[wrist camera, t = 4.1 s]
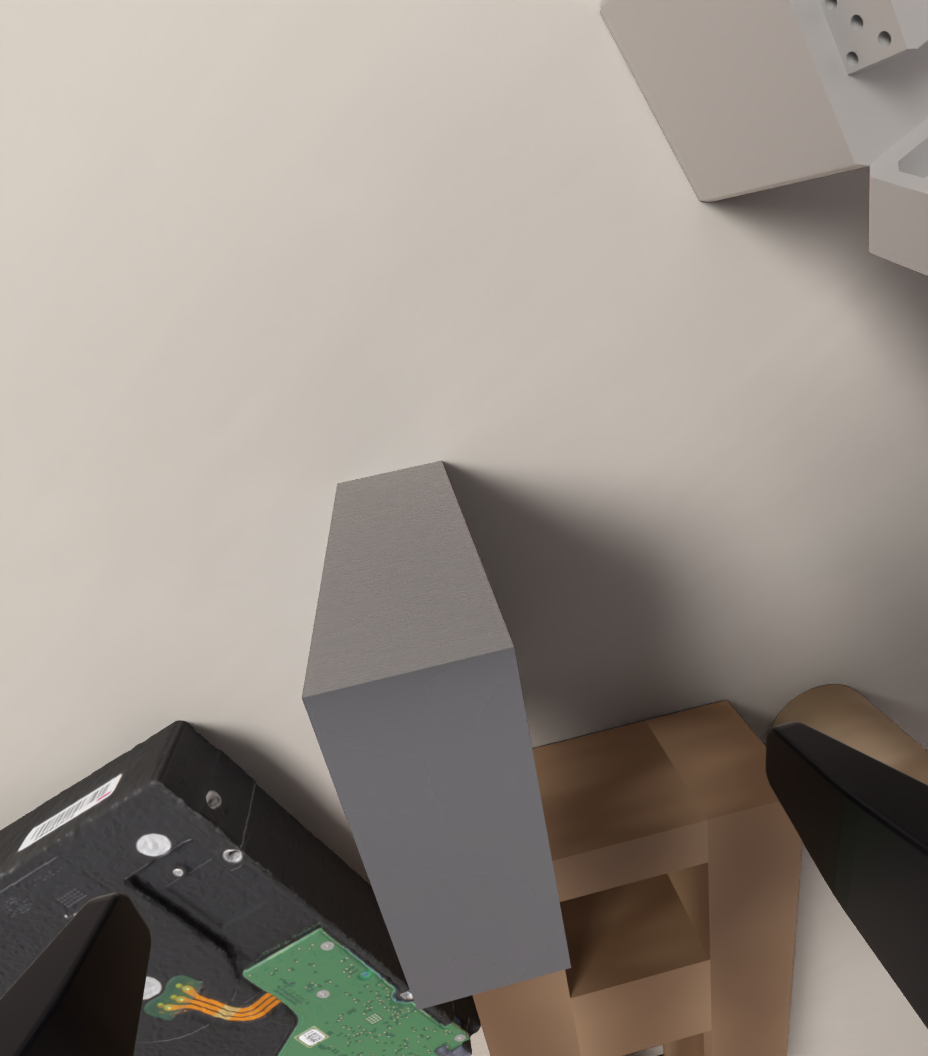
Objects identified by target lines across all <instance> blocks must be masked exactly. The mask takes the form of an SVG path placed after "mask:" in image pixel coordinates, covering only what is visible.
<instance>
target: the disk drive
mask: <svg viewBox="0 0 928 1056" xmlns="http://www.w3.org/2000/svg"><path fill="white" fill-rule="evenodd" d="M118 891H123V892H125V893H127V894H128V895H129V896H130V898H131V899H132V901H133V902H134V904H135V905H136V907H137V909H138V910H139V912H140V913H141V915H142V917H143V918H144V920H145V921H146V923H147V925H148V927H149V929H150V933H151V952H150V958H149V964H148V970H147V977H146V983H145V989H144V995H143V1002H142V1008H141V1014H140V1020H139V1027H138V1033H137V1039H136V1045H135V1052H134V1056H471V1055H472V1049H471V1041H470V1036H471V1035H472V1034H474V1033H476V1032H477V1031H478V1030H479V1028H480V1027H481V1022H480V1019H479V1015H478V1012H477V1009H476V1005H475V1002H474V999H473V995H471V996H467V997H464V998H460V999H456V1000H453V1001H449V1002H446V1003H442V1004H438V1005H435V1006H431V1007H427V1008H424V1009H420V1010H417V1008H416V1005H415V1002H414V999H413V997H412V994H411V991H410V989H409V986H408V983H407V981H406V978H405V975H404V972H403V970H402V967H401V964H400V962H399V959H398V956H397V954H396V951H395V948H394V945H393V943H392V940H391V937H390V935H389V932H388V929H387V926H386V924H385V921H384V918H383V916H382V913H381V910H380V908H379V905H378V902H377V899H376V897H375V894H374V891H373V889H372V887H371V886H370V885H369V884H368V883H367V882H366V881H365V880H364V879H363V878H362V877H360V876H359V875H358V874H357V873H356V872H355V871H354V870H352V869H351V868H350V867H349V866H348V865H347V864H346V863H345V862H343V860H341V859H340V858H339V857H338V856H337V855H336V854H335V853H333V852H332V851H331V850H330V849H329V848H328V847H327V846H325V845H324V844H323V843H322V842H321V841H320V840H318V839H317V838H316V837H315V836H313V835H312V833H311V832H309V831H308V830H307V829H306V828H305V827H304V826H303V825H301V824H300V823H299V822H298V821H297V820H296V819H295V818H294V817H292V816H291V815H290V814H289V813H288V812H287V811H286V810H285V809H283V808H282V807H281V806H280V805H279V804H278V803H277V802H276V801H275V800H274V799H273V798H271V797H270V796H269V795H268V794H267V793H266V792H264V791H263V790H262V789H261V788H260V787H259V786H258V785H256V783H255V781H254V780H253V778H251V777H250V776H249V775H247V774H246V773H245V771H244V770H243V769H242V768H240V767H239V766H238V765H237V764H236V763H235V762H233V761H232V760H231V759H230V758H229V757H228V756H227V755H226V754H224V753H223V752H222V751H221V750H218V749H216V748H215V747H214V746H213V745H211V744H210V743H209V741H208V740H206V739H205V738H204V737H203V736H201V734H198V733H197V732H196V731H195V730H194V729H193V727H192V726H190V725H189V724H188V723H187V722H185V721H175V722H174V723H172V724H171V725H169V726H167V727H166V728H164V729H163V730H161V731H160V732H158V733H157V734H155V735H153V736H151V737H150V738H149V739H148V740H146V741H145V742H143V743H140V744H138V745H136V746H135V747H134V748H133V749H132V750H130V751H128V752H126V753H124V754H123V755H121V756H119V757H118V758H116V759H115V760H113V761H111V762H109V763H108V764H106V765H105V766H103V767H102V768H100V769H98V770H97V771H95V772H94V773H92V774H91V775H90V776H88V777H86V778H84V779H83V780H81V781H80V782H78V783H76V784H74V785H73V786H72V787H70V788H68V789H66V790H64V791H62V792H61V793H60V794H58V795H57V796H55V797H53V798H52V799H50V800H48V801H46V802H45V803H44V804H42V805H41V806H39V807H37V808H36V809H35V810H33V811H31V812H30V813H28V814H26V815H25V816H23V817H22V818H20V819H18V820H17V821H15V822H14V823H12V824H10V825H9V826H7V827H5V828H4V829H2V830H1V831H0V998H1V997H2V996H3V995H4V994H5V993H6V991H7V990H8V989H9V988H10V987H11V986H12V985H13V984H14V983H15V981H16V980H17V979H18V978H19V977H20V976H21V975H22V974H23V973H24V971H25V970H26V969H27V968H28V967H29V966H30V965H31V964H32V962H33V961H34V960H35V959H36V958H37V957H38V956H39V955H40V954H41V952H42V951H43V950H44V949H45V948H46V947H47V946H48V945H49V944H50V942H51V941H52V940H53V939H54V938H55V937H56V936H57V935H58V934H59V932H60V931H61V930H62V929H63V928H64V927H65V926H66V925H67V923H68V922H69V921H70V920H71V919H72V918H73V917H74V916H75V915H76V913H77V912H78V911H79V910H80V909H81V908H82V907H83V906H84V905H85V904H86V903H87V902H88V901H89V900H91V899H93V898H95V897H98V896H102V895H106V894H110V893H114V892H118Z"/></svg>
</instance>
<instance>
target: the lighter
mask: <svg viewBox="0 0 928 1056" xmlns="http://www.w3.org/2000/svg"><path fill="white" fill-rule="evenodd" d="M600 13H601V15H602V17H603V19H604V21H605V23H606V24H607V26H608V28H609V30H610V32H611V34H612V36H613V38H614V40H615V42H616V43H617V45H618V47H619V49H620V51H621V53H622V55H623V57H624V59H625V60H626V62H627V64H628V66H629V68H630V70H631V72H632V74H633V76H634V78H635V79H636V81H637V83H638V85H639V87H640V89H641V91H642V93H643V95H644V97H645V98H646V100H647V102H648V104H649V106H650V108H651V110H652V112H653V114H654V116H655V117H656V119H657V121H658V123H659V125H660V127H661V129H662V131H663V133H664V135H665V136H666V138H667V140H668V142H669V144H670V146H671V148H672V150H673V152H674V153H675V155H676V157H677V159H678V161H679V163H680V165H681V167H682V169H683V171H684V172H685V174H686V176H687V178H688V180H689V182H690V184H691V186H692V188H693V190H694V191H695V193H696V195H697V197H698V199H699V201H705V202H714V201H718V200H722V199H727V198H731V197H736V196H740V195H744V194H749V193H753V192H758V191H762V190H767V189H771V188H775V187H780V186H784V185H789V184H793V183H797V182H802V181H806V180H811V179H815V178H820V177H824V176H828V175H833V174H837V173H842V172H846V171H850V170H855V169H859V168H864V167H868V166H870V185H869V253H871V254H874V255H876V256H879V257H881V258H884V259H886V260H889V261H891V262H894V263H896V264H899V265H901V266H904V267H906V268H909V269H911V270H914V271H916V272H919V273H921V274H924V275H926V276H928V0H602V4H601V10H600Z"/></svg>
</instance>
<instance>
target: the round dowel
mask: <svg viewBox="0 0 928 1056" xmlns="http://www.w3.org/2000/svg"><path fill="white" fill-rule="evenodd" d="M792 721H797V722H801V723H804V724H806V725H808V726H810V727H812V728H814V729H816V730H818V731H820V732H822V733H824V734H826V735H828V736H830V737H832V738H834V739H836V740H838V741H840V742H842V743H844V744H846V745H848V746H850V747H852V748H854V749H856V750H858V751H860V752H862V753H864V754H866V755H868V756H870V757H872V758H874V759H876V760H878V761H880V762H883V763H885V764H887V765H889V766H891V767H893V768H895V769H897V770H899V771H901V772H903V773H905V774H907V775H909V776H911V777H913V778H915V779H917V780H919V781H921V782H923V783H925V784H927V785H928V751H927V750H926V749H924V748H923V747H922V746H921V745H920V744H919V743H917V742H916V741H915V740H914V739H913V738H911V737H910V736H909V735H908V734H907V733H906V732H904V731H903V730H902V729H901V728H900V727H899V726H897V725H896V724H895V723H894V722H893V721H891V720H890V719H889V718H888V717H887V716H886V715H884V714H883V713H882V712H881V711H880V710H879V709H877V708H876V707H875V706H874V705H873V704H871V703H870V702H869V701H868V700H867V699H866V698H864V697H863V696H862V695H861V694H860V693H858V692H857V691H856V690H855V689H853V688H851V687H849V686H845V685H840V684H830V685H823V686H819V687H816V688H813V689H810V690H808V691H806V692H804V693H802V694H801V695H799V696H797V697H796V698H795V699H793V700H792V701H791V702H789V703H788V704H787V705H786V706H785V707H784V708H783V709H782V711H781V712H780V713H779V714H778V716H777V717H776V719H775V721H774V722H773V725H772V726H776V725H780V724H784V723H788V722H792Z"/></svg>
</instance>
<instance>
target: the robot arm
mask: <svg viewBox="0 0 928 1056" xmlns="http://www.w3.org/2000/svg"><path fill="white" fill-rule="evenodd" d="M765 769H766V775H767V779H768V781H769V784H770V786H771V788H772V790H773V791H774V793H775V795H776V797H777V798H778V800H779V802H780V803H781V805H782V807H783V809H784V810H785V812H786V814H787V816H788V817H789V819H790V821H791V823H792V824H793V826H794V828H795V829H796V831H797V833H798V835H799V836H800V838H801V840H802V842H803V843H804V845H805V847H806V849H807V850H808V852H809V854H810V855H811V857H812V859H813V861H814V862H815V864H816V866H817V868H818V869H819V871H820V873H821V875H822V876H823V878H824V880H825V881H826V883H827V885H828V886H829V888H830V889H831V891H832V893H833V894H834V896H835V897H836V899H837V900H838V902H839V903H840V905H841V906H842V908H843V909H844V911H845V912H846V914H847V915H848V917H849V918H850V919H851V921H852V922H853V924H854V925H855V926H856V928H857V929H858V931H859V932H860V934H861V935H862V936H863V938H864V939H865V941H866V942H867V943H868V945H869V946H870V948H871V949H872V951H873V952H874V953H875V955H876V956H877V958H878V959H879V960H880V962H881V963H882V965H883V966H884V968H885V969H886V970H887V972H888V973H889V975H890V976H891V978H892V979H893V980H894V982H895V983H896V985H897V986H898V987H899V989H900V990H901V992H902V993H903V995H904V996H905V997H906V999H907V1000H908V1002H909V1003H910V1004H911V1006H912V1007H913V1009H914V1010H915V1012H916V1013H917V1014H918V1016H919V1017H920V1019H921V1020H922V1021H923V1023H924V1024H925V1026H926V1027H927V1029H928V785H927V784H925V783H923V782H921V781H919V780H917V779H915V778H913V777H911V776H909V775H907V774H905V773H903V772H901V771H899V770H897V769H895V768H893V767H891V766H889V765H887V764H885V763H883V762H880V761H878V760H876V759H874V758H872V757H870V756H868V755H866V754H864V753H862V752H860V751H858V750H856V749H854V748H852V747H850V746H848V745H846V744H844V743H842V742H840V741H838V740H836V739H834V738H832V737H830V736H828V735H826V734H824V733H822V732H820V731H818V730H816V729H814V728H812V727H810V726H808V725H806V724H804V723H801V722H797V721H792V722H788V723H784V724H780V725H776V726H772V727H770V728H769V730H768V731H767V737H766V765H765ZM150 952H151V933H150V929H149V927H148V925H147V923H146V921H145V920H144V918H143V917H142V915H141V913H140V912H139V910H138V909H137V907H136V905H135V904H134V902H133V901H132V899H131V898H130V896H129V895H128V894H127V893H125V892H123V891H118V892H114V893H110V894H106V895H102V896H98V897H95V898H93V899H91V900H89V901H88V902H87V903H86V904H85V905H84V906H83V907H82V908H81V909H80V910H79V911H78V912H77V913H76V915H75V916H74V917H73V918H72V919H71V920H70V921H69V922H68V923H67V925H66V926H65V927H64V928H63V929H62V930H61V931H60V932H59V934H58V935H57V936H56V937H55V938H54V939H53V940H52V941H51V942H50V944H49V945H48V946H47V947H46V948H45V949H44V950H43V951H42V952H41V954H40V955H39V956H38V957H37V958H36V959H35V960H34V961H33V962H32V964H31V965H30V966H29V967H28V968H27V969H26V970H25V971H24V973H23V974H22V975H21V976H20V977H19V978H18V979H17V980H16V981H15V983H14V984H13V985H12V986H11V987H10V988H9V989H8V990H7V991H6V993H5V994H4V995H3V996H2V997H1V998H0V1056H134V1052H135V1045H136V1039H137V1033H138V1027H139V1020H140V1014H141V1008H142V1002H143V995H144V989H145V983H146V977H147V970H148V964H149V958H150Z"/></svg>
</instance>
